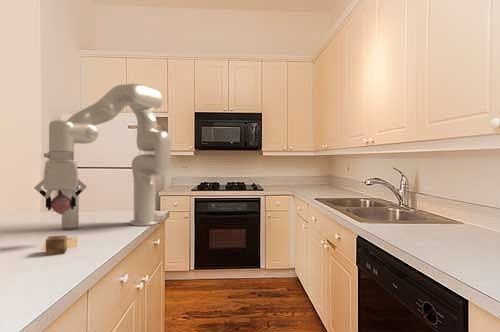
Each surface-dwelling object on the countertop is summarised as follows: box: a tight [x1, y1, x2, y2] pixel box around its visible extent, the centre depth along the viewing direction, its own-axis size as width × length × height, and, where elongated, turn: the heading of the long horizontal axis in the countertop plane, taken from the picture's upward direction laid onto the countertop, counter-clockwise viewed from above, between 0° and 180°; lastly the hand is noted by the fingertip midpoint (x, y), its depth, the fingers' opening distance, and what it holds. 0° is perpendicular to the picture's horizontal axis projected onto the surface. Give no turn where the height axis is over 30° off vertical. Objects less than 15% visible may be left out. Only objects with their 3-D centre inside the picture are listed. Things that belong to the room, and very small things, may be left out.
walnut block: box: [45, 235, 68, 256], centre depth 104 cm, size 5×5×5 cm
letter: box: [41, 236, 79, 251], centre depth 116 cm, size 10×15×1 cm, turn 26°
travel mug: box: [61, 184, 80, 231], centre depth 141 cm, size 6×7×20 cm
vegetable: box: [51, 190, 71, 215], centre depth 115 cm, size 6×6×10 cm
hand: (61, 208), depth 115 cm, fingers closed on vegetable, 6 cm apart
